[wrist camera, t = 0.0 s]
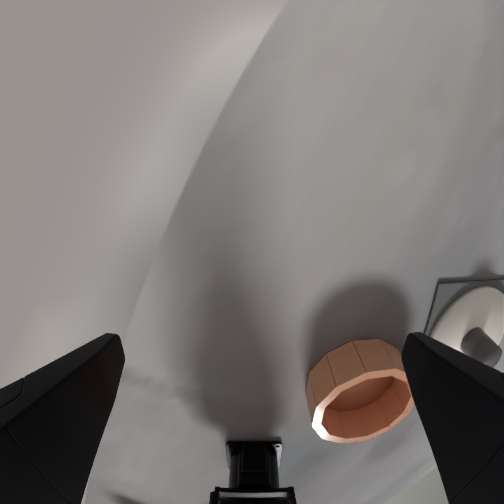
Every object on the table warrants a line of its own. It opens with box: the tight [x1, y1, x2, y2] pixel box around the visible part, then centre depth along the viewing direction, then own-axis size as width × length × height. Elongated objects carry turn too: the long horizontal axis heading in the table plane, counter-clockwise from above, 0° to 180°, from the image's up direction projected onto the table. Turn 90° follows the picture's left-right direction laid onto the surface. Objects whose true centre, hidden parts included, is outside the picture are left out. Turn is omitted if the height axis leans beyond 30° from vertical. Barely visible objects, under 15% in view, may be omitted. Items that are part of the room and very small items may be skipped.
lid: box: [429, 286, 504, 368], centre depth 24 cm, size 12×12×5 cm
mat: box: [424, 279, 504, 336], centre depth 26 cm, size 13×13×1 cm
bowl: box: [306, 339, 414, 443], centre depth 25 cm, size 10×10×4 cm
